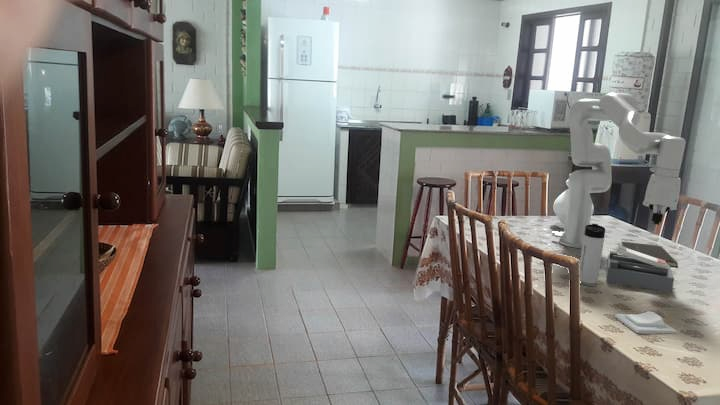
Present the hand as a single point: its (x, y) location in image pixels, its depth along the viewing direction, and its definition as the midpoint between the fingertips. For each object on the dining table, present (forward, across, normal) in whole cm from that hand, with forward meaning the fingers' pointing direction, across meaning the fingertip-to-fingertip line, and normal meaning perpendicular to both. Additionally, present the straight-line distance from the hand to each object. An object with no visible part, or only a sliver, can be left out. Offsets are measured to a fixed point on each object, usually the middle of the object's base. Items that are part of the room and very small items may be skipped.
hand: (655, 223), depth 201 cm
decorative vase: (+22, -29, +58) cm, 69 cm away
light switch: (+19, -2, -50) cm, 53 cm away
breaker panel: (+19, -3, -8) cm, 21 cm away
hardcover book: (+21, +2, +28) cm, 35 cm away
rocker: (+11, -3, -8) cm, 14 cm away
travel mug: (+19, -19, -22) cm, 34 cm away
